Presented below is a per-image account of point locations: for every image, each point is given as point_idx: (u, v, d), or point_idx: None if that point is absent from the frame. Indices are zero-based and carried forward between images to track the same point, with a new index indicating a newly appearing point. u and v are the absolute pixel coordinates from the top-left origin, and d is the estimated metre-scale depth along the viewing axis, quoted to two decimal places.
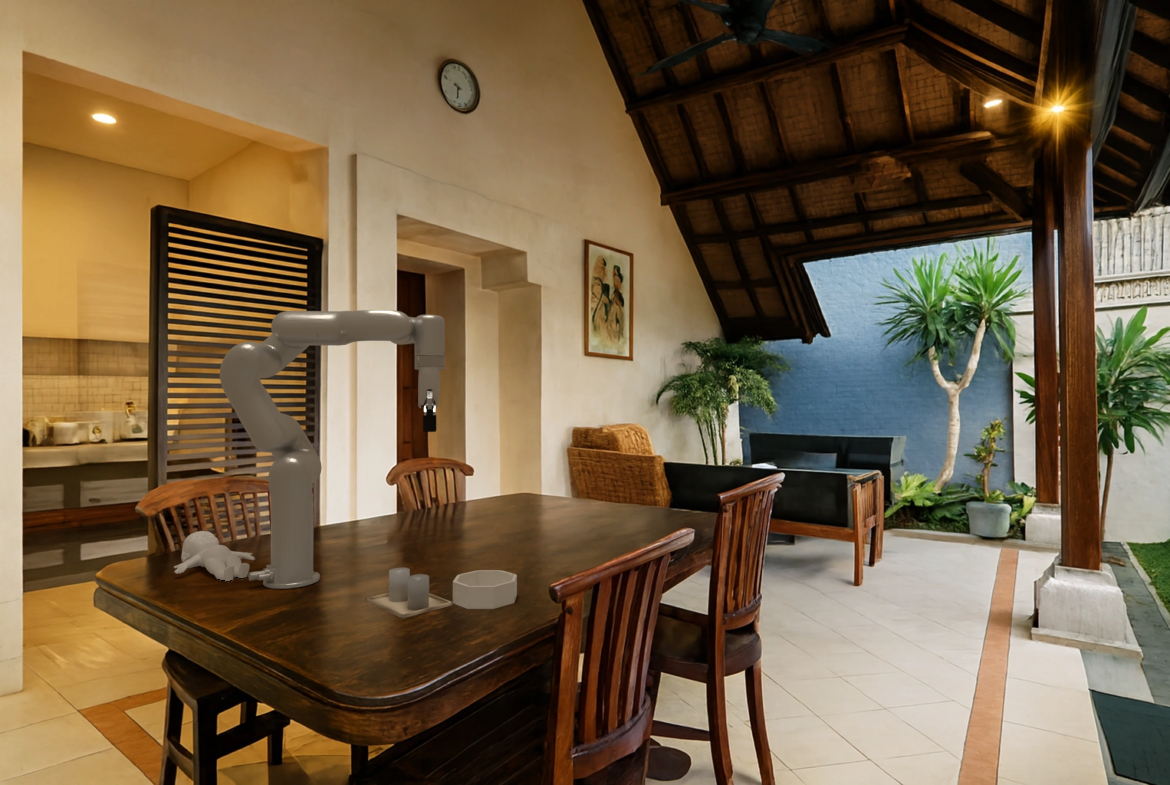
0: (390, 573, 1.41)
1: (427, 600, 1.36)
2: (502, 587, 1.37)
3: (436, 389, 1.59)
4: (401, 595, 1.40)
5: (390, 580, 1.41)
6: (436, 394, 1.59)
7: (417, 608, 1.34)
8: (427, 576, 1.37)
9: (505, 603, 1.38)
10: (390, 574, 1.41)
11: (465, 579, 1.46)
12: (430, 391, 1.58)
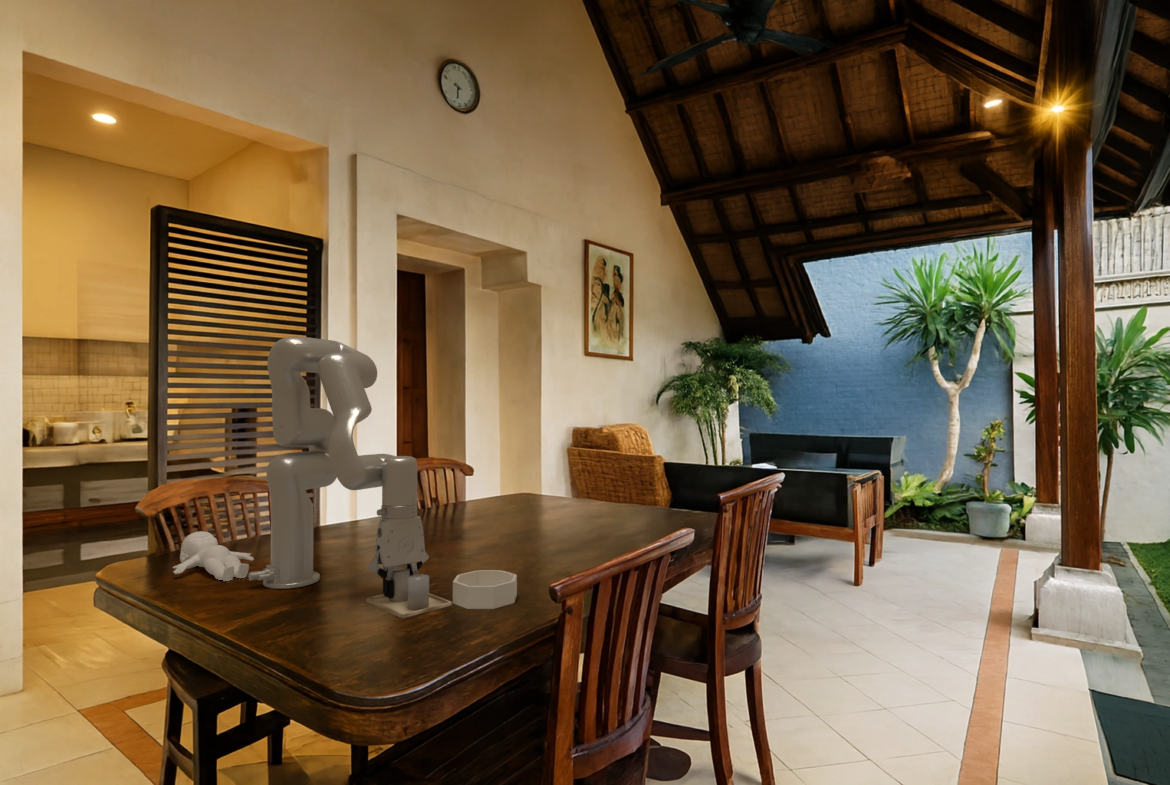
0: None
1: (427, 600, 1.36)
2: (502, 587, 1.37)
3: None
4: (401, 595, 1.40)
5: None
6: None
7: (417, 608, 1.34)
8: (427, 576, 1.37)
9: (505, 603, 1.38)
10: None
11: (465, 579, 1.46)
12: None
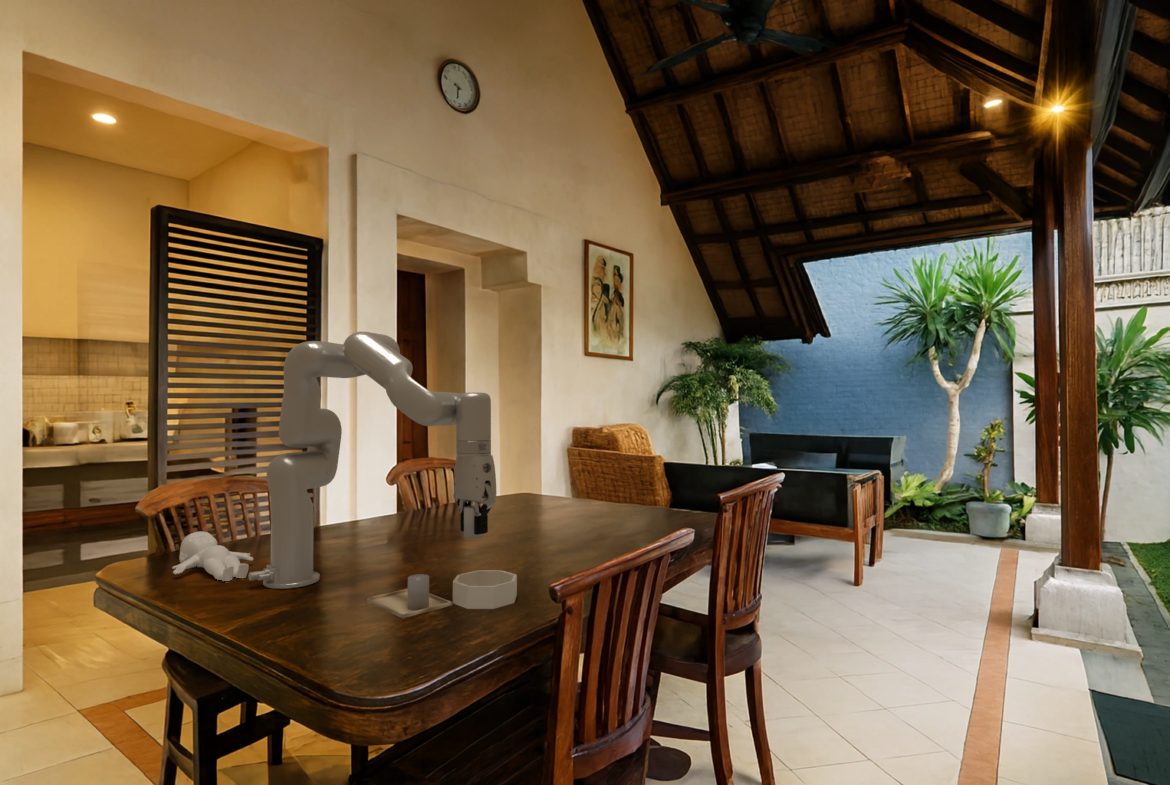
0: None
1: (427, 600, 1.36)
2: (502, 587, 1.37)
3: None
4: None
5: None
6: None
7: (417, 608, 1.34)
8: (427, 576, 1.37)
9: (505, 603, 1.38)
10: None
11: (465, 579, 1.46)
12: None
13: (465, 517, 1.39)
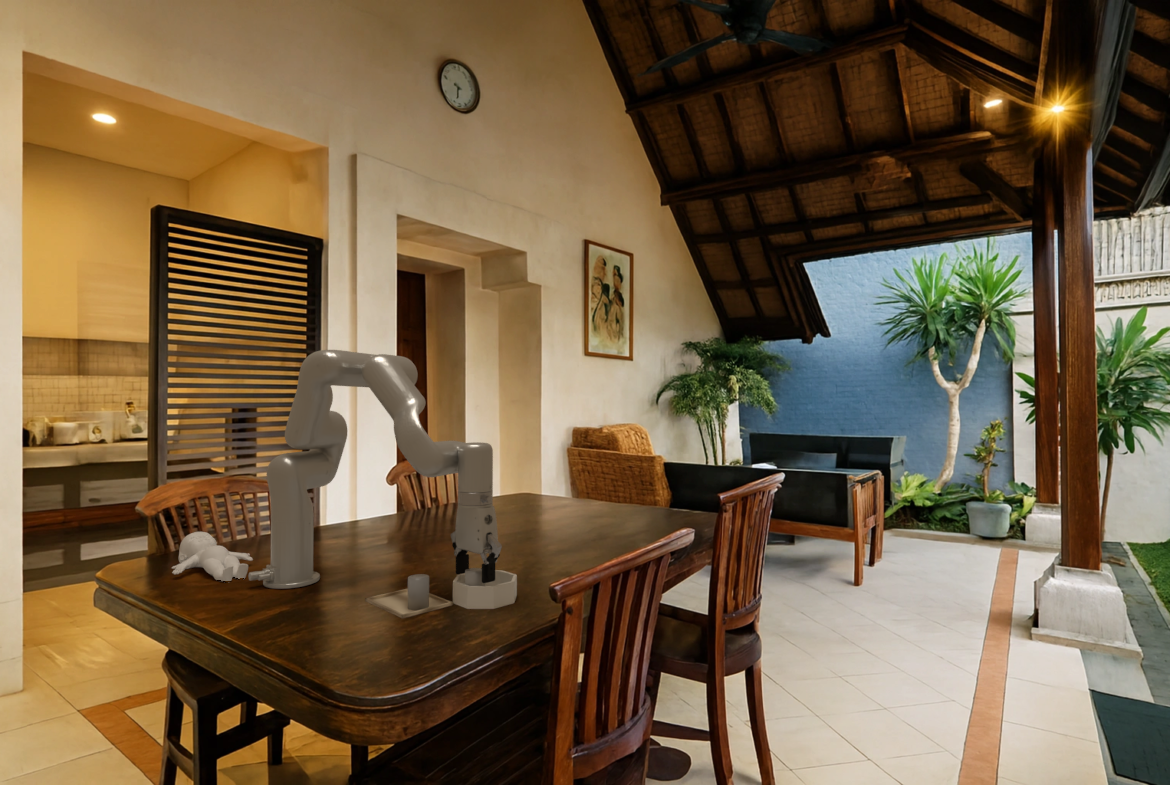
0: (481, 573, 1.39)
1: (427, 600, 1.36)
2: (502, 587, 1.37)
3: None
4: None
5: (481, 580, 1.39)
6: None
7: (417, 608, 1.34)
8: (427, 576, 1.37)
9: (505, 603, 1.38)
10: (481, 574, 1.39)
11: None
12: None
13: (466, 581, 1.39)
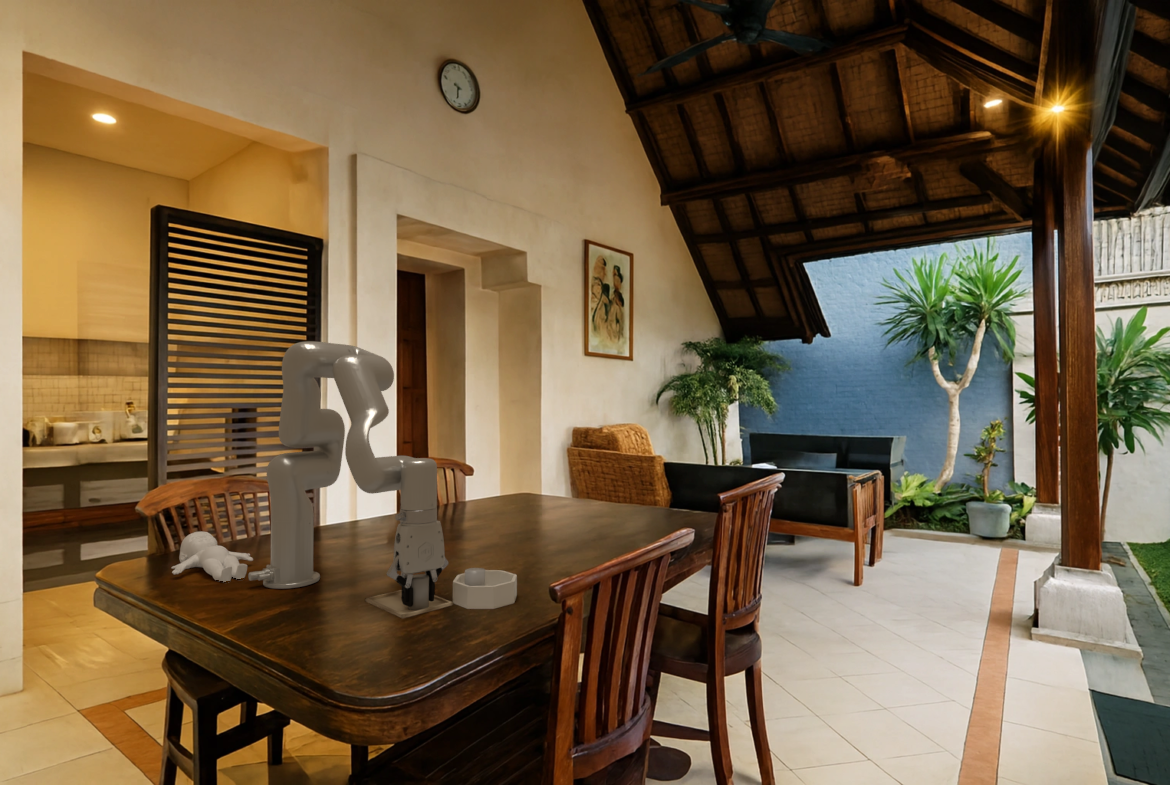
0: (482, 573, 1.39)
1: (427, 600, 1.36)
2: (502, 587, 1.37)
3: None
4: None
5: (482, 580, 1.39)
6: None
7: (417, 608, 1.34)
8: (427, 576, 1.37)
9: (505, 603, 1.38)
10: (482, 574, 1.39)
11: None
12: None
13: (467, 581, 1.39)
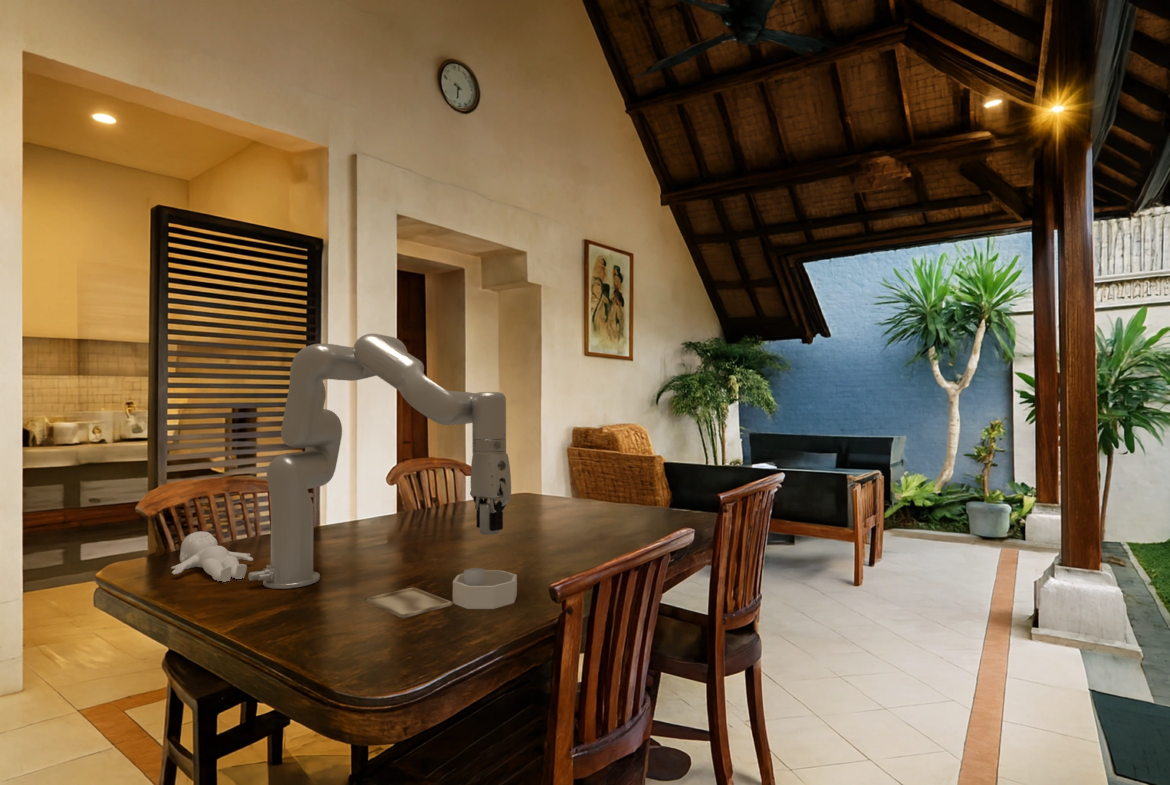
0: (481, 573, 1.39)
1: None
2: (502, 587, 1.37)
3: None
4: None
5: (481, 580, 1.39)
6: None
7: (499, 530, 1.44)
8: None
9: (505, 603, 1.38)
10: (481, 574, 1.39)
11: None
12: None
13: (466, 582, 1.38)
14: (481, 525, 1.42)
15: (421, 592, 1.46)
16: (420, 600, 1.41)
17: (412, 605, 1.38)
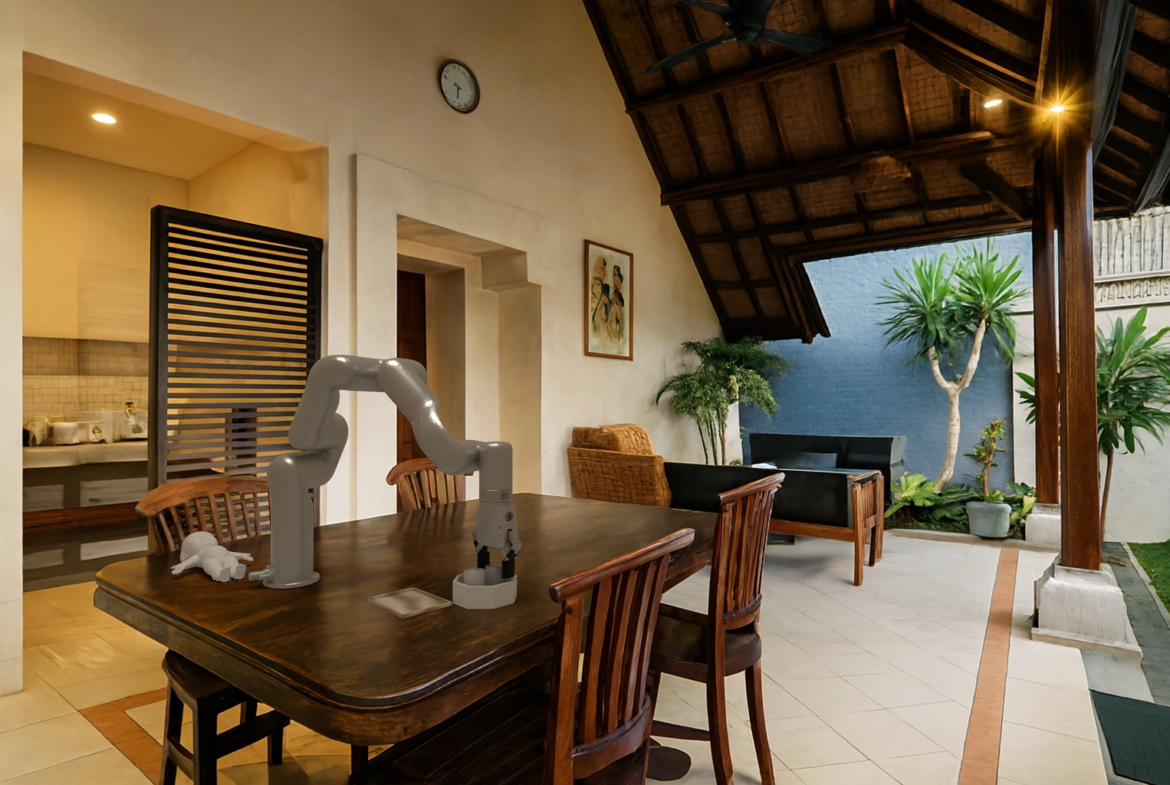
0: (481, 572, 1.39)
1: None
2: (502, 587, 1.37)
3: None
4: None
5: (482, 580, 1.39)
6: None
7: None
8: (494, 563, 1.46)
9: (505, 603, 1.38)
10: (481, 573, 1.39)
11: None
12: None
13: (467, 582, 1.38)
14: None
15: (421, 592, 1.46)
16: (420, 600, 1.41)
17: (412, 605, 1.38)
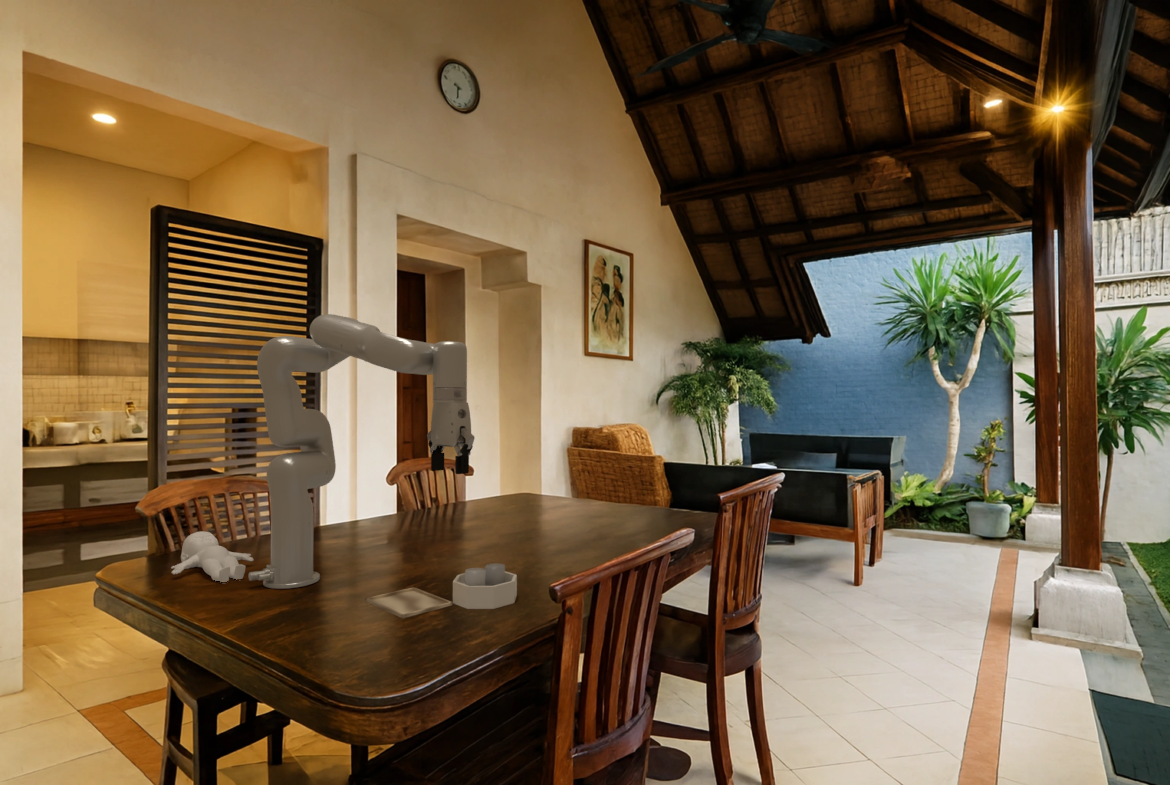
0: (483, 573, 1.39)
1: None
2: (502, 587, 1.37)
3: None
4: None
5: (483, 580, 1.39)
6: None
7: None
8: (494, 563, 1.46)
9: (505, 603, 1.38)
10: (483, 574, 1.39)
11: None
12: None
13: (468, 582, 1.38)
14: None
15: (421, 592, 1.46)
16: (420, 600, 1.41)
17: (412, 605, 1.38)
